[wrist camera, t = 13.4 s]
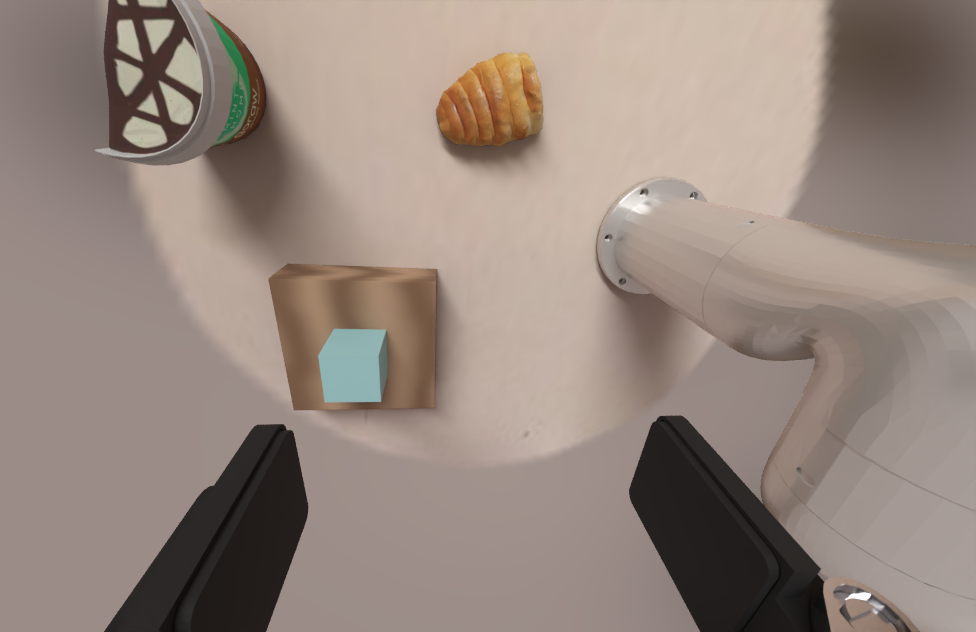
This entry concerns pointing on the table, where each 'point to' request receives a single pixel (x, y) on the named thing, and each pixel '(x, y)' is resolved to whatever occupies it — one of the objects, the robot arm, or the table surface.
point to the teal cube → (354, 365)
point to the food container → (176, 82)
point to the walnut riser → (358, 327)
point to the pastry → (493, 102)
